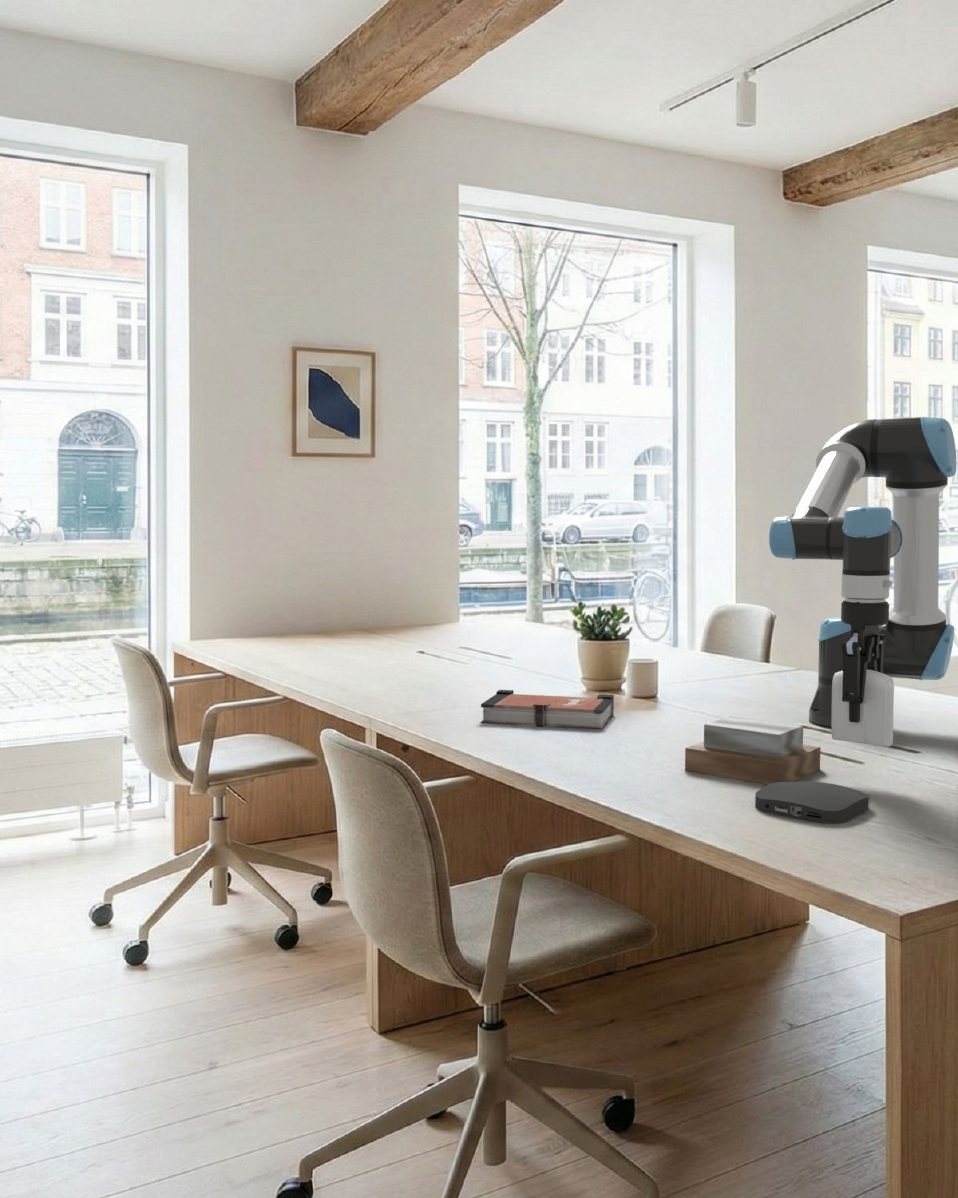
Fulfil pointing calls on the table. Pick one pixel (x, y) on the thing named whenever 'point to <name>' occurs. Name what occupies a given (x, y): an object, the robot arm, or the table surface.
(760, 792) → the media streaming box
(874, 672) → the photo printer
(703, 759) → the grey block on wood
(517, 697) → the book
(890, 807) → the table surface
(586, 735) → the table surface
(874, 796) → the table surface
